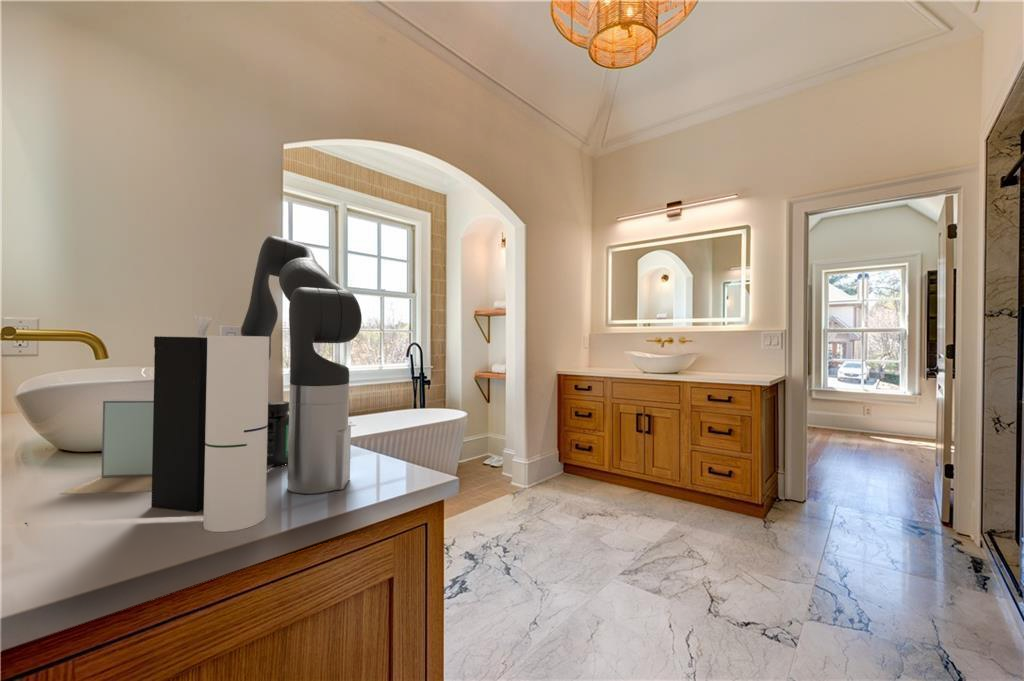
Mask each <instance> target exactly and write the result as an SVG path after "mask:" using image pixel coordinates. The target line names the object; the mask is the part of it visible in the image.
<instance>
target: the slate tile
mask: <svg viewBox="0 0 1024 681" xmlns="http://www.w3.org/2000/svg"><path fill="white" fill-rule="evenodd" d="M102 401H103V402H102V432H101V433H102V437H101V438H102V439H101V440H102V441H101V442H102V445H101V477H102V478H123V477H152V455H153V408H154V398H113V399H106V400H102Z"/></svg>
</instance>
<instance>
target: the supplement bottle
mask: <svg viewBox="0 0 1024 681" xmlns="http://www.w3.org/2000/svg"><path fill="white" fill-rule="evenodd" d="M288 442H289V401H285V400H282V401H281V400H272V401H271V400H270V401H268V425H267V466H270V468H278V467H277V466H279V467H283V466H282V465H284V466H286V465H285V464H287V465H288Z"/></svg>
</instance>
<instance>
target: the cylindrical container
mask: <svg viewBox="0 0 1024 681" xmlns="http://www.w3.org/2000/svg"><path fill="white" fill-rule="evenodd" d="M206 337H207V382H206V429H205V443H206V444H205V477H204V510H203V526H202V527H203V529H205V531H209V532H213V533H215V532H216V533H225V532H228V533H229V532H234V531H240V530H244V529H247V528H250V527H253V526H255V525H258V524H260V523H262V522H263V521H264V520H265V518H266V513H267V510H266V509H267V474H268V473H267V472H268V471H267V470H268V469H267V467H268V465H267V425H268V402H269V379H270V378H269V377H270V376H269V373H270V372H269V371H270V360H269V337H265V336H242V335H213V334H212V335H210V334H207V336H206Z"/></svg>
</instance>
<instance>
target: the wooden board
mask: <svg viewBox="0 0 1024 681" xmlns="http://www.w3.org/2000/svg"><path fill="white" fill-rule="evenodd" d="M131 492H132V493H133V492H134V493H137V492H138V493H139V492H142V493H143V492H152V477H123V478H102V476H101V477H97V478H95V479H93V480H90V481H88V482H85V483H83V484H80V485H78V486H75V487H72V488H71V489H68V490H64V491H63V492H61V493H59V495H69V494H70V495H72V494H73V495H74V494H75V495H76V494H77V495H78V494H100V493H101V494H102V493H104V494H105V493H107V494H109V493H131Z"/></svg>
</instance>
